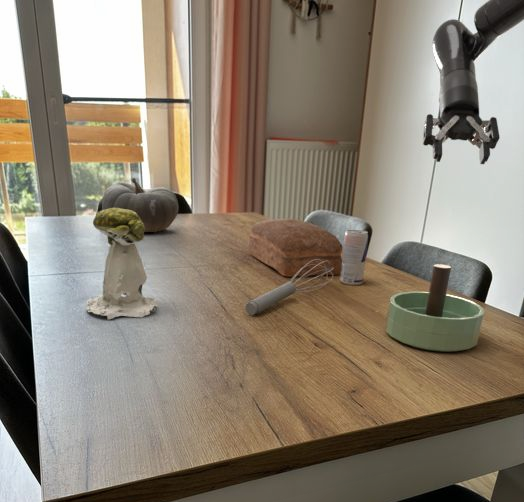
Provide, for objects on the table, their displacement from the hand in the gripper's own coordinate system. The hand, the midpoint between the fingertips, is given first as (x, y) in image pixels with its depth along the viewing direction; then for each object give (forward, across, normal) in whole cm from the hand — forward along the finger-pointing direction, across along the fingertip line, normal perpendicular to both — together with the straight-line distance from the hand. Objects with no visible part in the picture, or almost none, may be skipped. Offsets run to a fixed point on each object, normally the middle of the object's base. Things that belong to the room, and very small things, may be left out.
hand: (461, 160), depth 101 cm
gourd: (-23, -86, +64) cm, 110 cm away
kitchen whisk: (+25, -31, +16) cm, 43 cm away
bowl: (+37, -6, +3) cm, 38 cm away
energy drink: (+13, -18, +28) cm, 35 cm away
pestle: (+37, -6, +3) cm, 37 cm away
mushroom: (+36, -62, +4) cm, 72 cm away
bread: (+2, -33, +38) cm, 51 cm away
